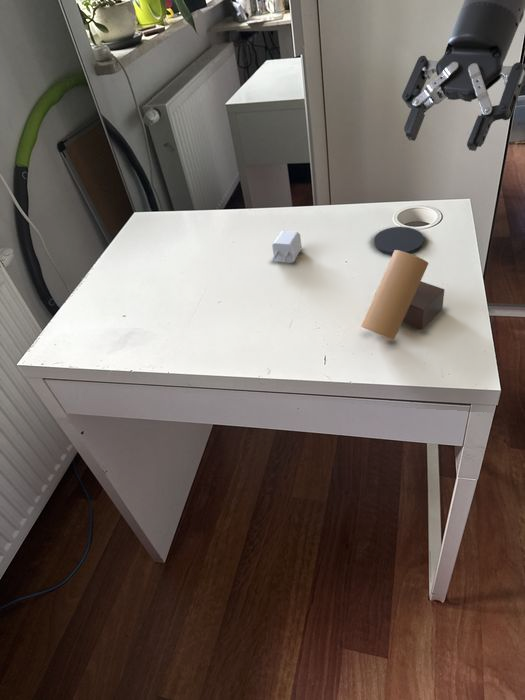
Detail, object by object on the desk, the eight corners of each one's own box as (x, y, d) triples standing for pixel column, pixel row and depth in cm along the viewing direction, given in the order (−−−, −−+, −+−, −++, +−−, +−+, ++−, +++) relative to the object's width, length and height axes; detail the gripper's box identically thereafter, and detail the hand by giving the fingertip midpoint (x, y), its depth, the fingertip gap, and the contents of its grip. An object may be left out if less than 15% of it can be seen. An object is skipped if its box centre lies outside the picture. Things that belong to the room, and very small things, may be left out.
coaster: (427, 231, 98) (428, 228, 98) (418, 257, 93) (418, 254, 92) (380, 227, 102) (380, 225, 101) (368, 252, 96) (368, 249, 96)
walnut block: (397, 293, 86) (398, 273, 83) (442, 309, 82) (444, 289, 79) (377, 312, 83) (377, 292, 81) (422, 330, 79) (423, 310, 76)
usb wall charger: (301, 250, 100) (299, 232, 97) (289, 271, 95) (287, 252, 93) (282, 248, 101) (279, 230, 99) (269, 268, 97) (266, 250, 94)
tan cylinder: (400, 300, 85) (402, 235, 76) (429, 311, 82) (435, 244, 73) (355, 342, 79) (353, 276, 71) (385, 355, 76) (386, 288, 68)
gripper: (428, -1, 67) (381, 123, 69) (545, -1, 59) (487, 139, 62) (443, 32, 73) (400, 146, 76) (550, 37, 66) (498, 163, 68)
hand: (439, 143), depth 69 cm, fingers open, 8 cm apart
